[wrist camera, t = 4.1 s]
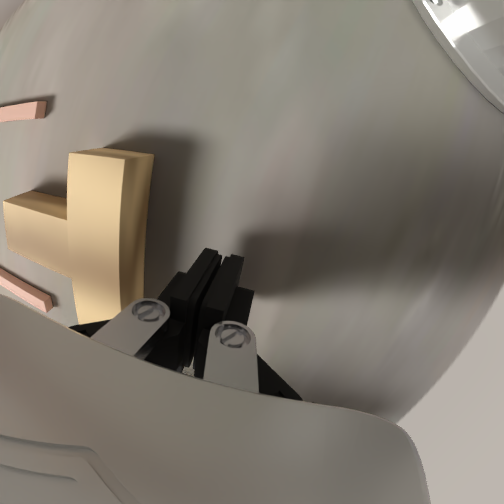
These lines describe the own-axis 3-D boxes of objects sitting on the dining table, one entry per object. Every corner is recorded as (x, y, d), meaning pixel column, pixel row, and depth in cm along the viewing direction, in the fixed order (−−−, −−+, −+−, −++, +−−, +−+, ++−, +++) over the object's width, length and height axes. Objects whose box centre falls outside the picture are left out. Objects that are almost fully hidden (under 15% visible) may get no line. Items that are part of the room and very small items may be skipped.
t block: (33, 142, 11) (3, 148, 9) (154, 154, 11) (124, 159, 9) (39, 273, 15) (16, 290, 13) (143, 317, 15) (123, 344, 12)
